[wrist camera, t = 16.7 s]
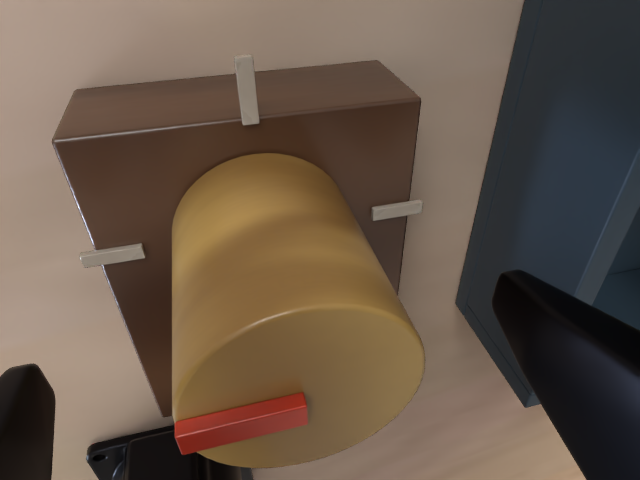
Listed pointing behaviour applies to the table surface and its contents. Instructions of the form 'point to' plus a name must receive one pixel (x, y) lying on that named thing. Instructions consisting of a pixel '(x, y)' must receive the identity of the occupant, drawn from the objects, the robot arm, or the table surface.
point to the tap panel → (221, 146)
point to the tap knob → (281, 319)
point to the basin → (562, 170)
